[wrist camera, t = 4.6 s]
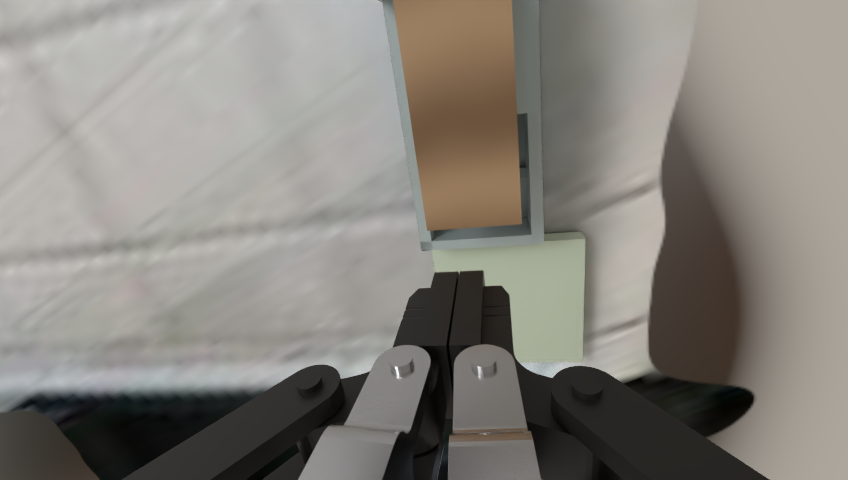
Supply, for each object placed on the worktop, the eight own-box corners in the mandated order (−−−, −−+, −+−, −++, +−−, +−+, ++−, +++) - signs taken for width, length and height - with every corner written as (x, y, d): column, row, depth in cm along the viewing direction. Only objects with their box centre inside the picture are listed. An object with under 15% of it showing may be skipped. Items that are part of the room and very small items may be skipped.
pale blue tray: (390, -6, 22) (357, -25, 17) (536, -34, 21) (552, -65, 16) (425, 229, 28) (409, 270, 23) (542, 220, 27) (555, 262, 21)
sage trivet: (433, 241, 28) (431, 248, 27) (581, 231, 26) (585, 238, 25) (449, 352, 32) (448, 362, 31) (579, 351, 30) (582, 361, 29)
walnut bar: (410, 5, 19) (391, -6, 15) (506, -13, 18) (510, -29, 15) (437, 203, 23) (427, 230, 19) (517, 196, 22) (521, 224, 19)
